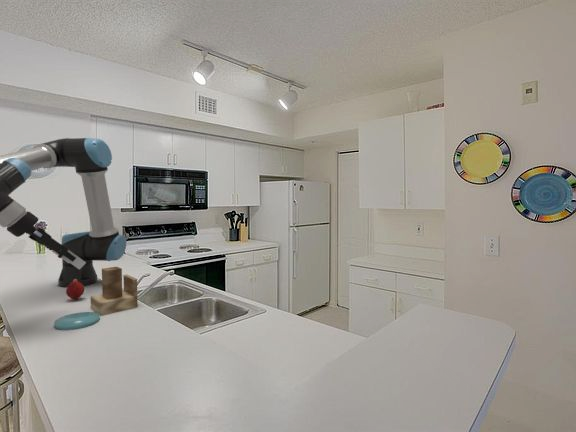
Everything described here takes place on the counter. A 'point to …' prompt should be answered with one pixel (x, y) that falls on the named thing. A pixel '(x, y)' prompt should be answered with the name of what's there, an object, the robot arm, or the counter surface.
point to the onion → (75, 289)
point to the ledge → (117, 299)
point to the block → (111, 282)
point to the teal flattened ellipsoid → (76, 320)
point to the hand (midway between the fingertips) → (77, 263)
